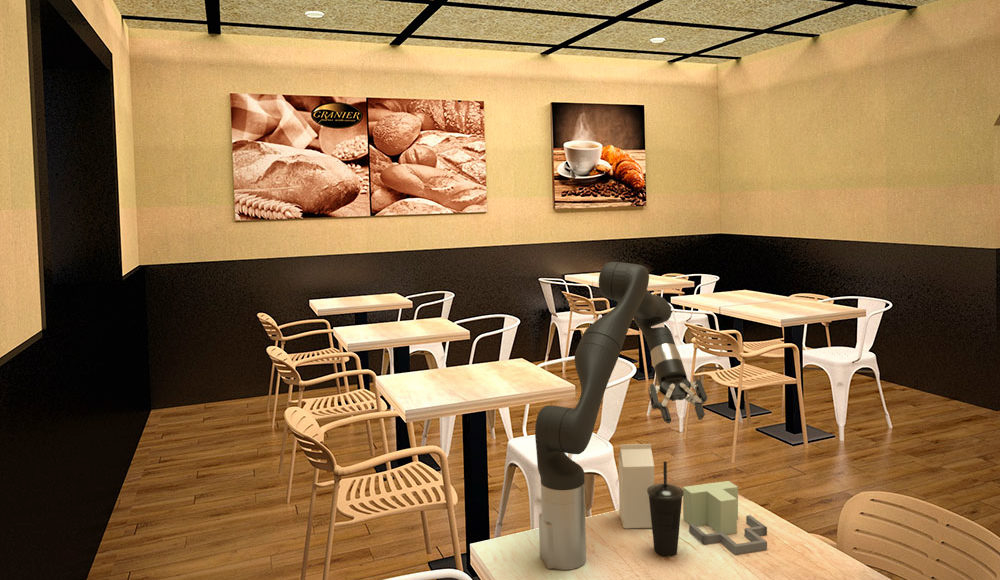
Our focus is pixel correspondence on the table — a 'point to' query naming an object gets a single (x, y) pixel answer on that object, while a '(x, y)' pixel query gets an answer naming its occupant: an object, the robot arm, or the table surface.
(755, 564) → the table surface
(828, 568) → the table surface
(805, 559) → the table surface
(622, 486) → the milk carton
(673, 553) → the drinking cup
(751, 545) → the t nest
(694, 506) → the t block
